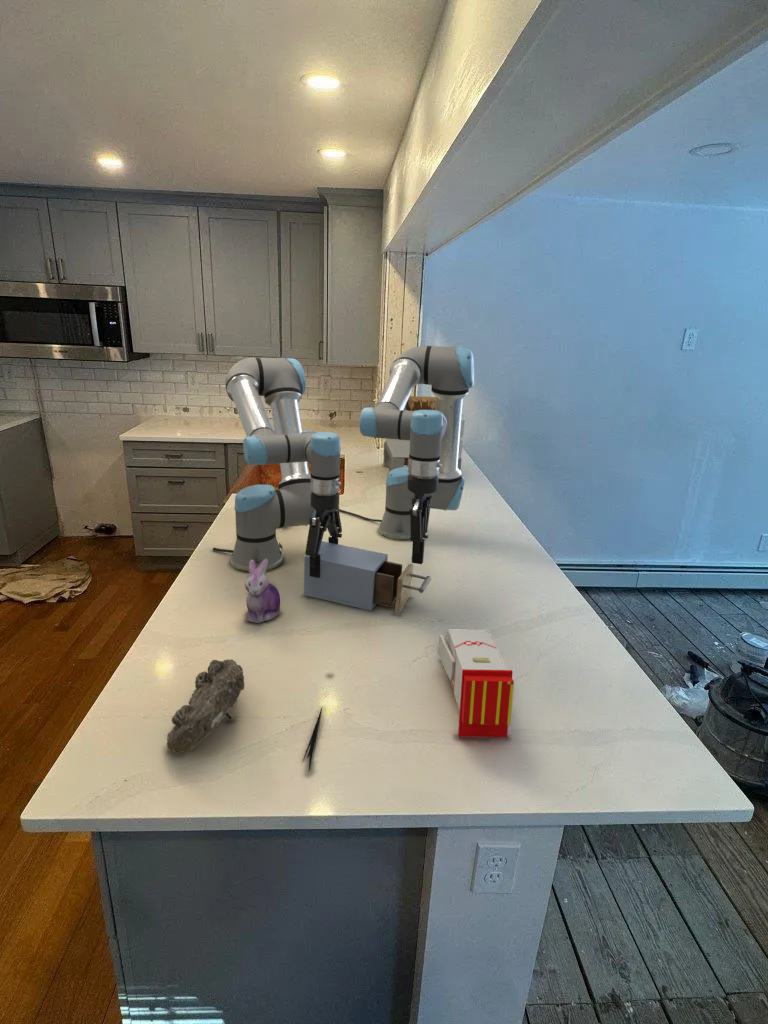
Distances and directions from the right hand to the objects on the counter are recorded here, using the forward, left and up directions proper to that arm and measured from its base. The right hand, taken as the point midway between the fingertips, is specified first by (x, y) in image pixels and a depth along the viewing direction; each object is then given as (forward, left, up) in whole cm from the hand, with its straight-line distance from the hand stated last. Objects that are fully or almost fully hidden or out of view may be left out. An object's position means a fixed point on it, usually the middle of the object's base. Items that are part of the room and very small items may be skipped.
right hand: (417, 562), depth 146 cm
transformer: (-94, +93, -13) cm, 133 cm away
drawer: (-8, -5, -12) cm, 15 cm away
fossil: (+7, -60, -13) cm, 62 cm away
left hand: (-22, -13, -7) cm, 27 cm away
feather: (+20, -44, -13) cm, 51 cm away
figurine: (-20, -34, -13) cm, 42 cm away
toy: (+33, -15, -13) cm, 38 cm away
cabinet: (-17, -10, -13) cm, 24 cm away
